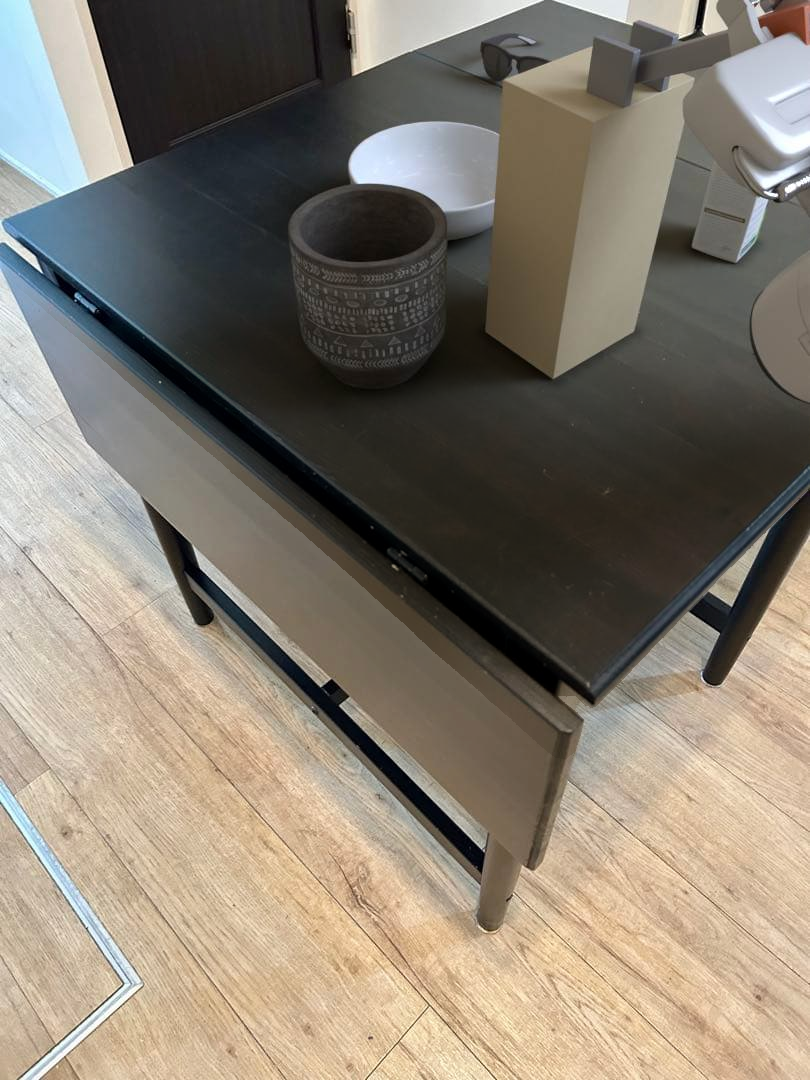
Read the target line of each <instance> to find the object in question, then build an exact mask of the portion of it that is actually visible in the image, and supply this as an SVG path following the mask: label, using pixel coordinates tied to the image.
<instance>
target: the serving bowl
mask: <svg viewBox="0 0 810 1080" xmlns="http://www.w3.org/2000/svg"><path fill="white" fill-rule="evenodd" d="M498 147H499V133H498V132H495V131H493V130H490V129H487V128H484V127H481V126H477V125H474V124H473V125H472V124H467V123H463V122H454V121H420V122H411V123H406V124H400V125H396V126H393V127H389V128H387V129H383V130H381V131H378V132H376V133H374V134H372V135H370V136H369V137H366V138H365V139H364V140H362V141H361V142H360V143H359V144H358V145H357V146H356V147H355V148H354V149H353V151H351V154H350V156H349V158H348V162H347V172H348V177H349V181H350V185H352V184H366V183H372V184H387V185H394V186H399V187H403V188H407V189H411V190H414V191H417V192H420V193H422V194H424V195H426V196H427V197H429V198H430V199H432V200H433V201H434V202H436V203H437V204H438V205H439V206H440V208H441V209H442V210H443V212H444V214H445V216H446V220H447V241H453V240H460V239H465V238H469V237H473V236H475V235H478V234H481V233H482V232H485V231H486V230H489V229H490V228H493V217H494V203H495V189H496V175H497V161H498Z"/></svg>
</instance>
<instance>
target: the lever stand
mask: <svg viewBox="0 0 810 1080" xmlns="http://www.w3.org/2000/svg"><path fill="white" fill-rule="evenodd" d="M679 38H680V34H679V33H675V32H673V31H671V30H667V29H665V28H662V27H659V26H658V25H654V24H651V23H648V22H646V21H643V20H641V19H638V20H636V21H633V22H632V26H631V32H630V38H629V43H628V44H627V43H624V42H622V41H619V40H616V39H614V38H611V37H609V36H606V35H604V34H598V35H595V36H594V37H593V41H592V45H591V46H589V47H586V48H583V49H581V50H577V51H576V52H573V53H570V54H567V55H565V56H562V57H560V58H557V59H555V60H551V61H552V62H549V63H546V64H544V65H541V66H538V67H536V68H533V69H531V70H528V71H525V72H523V73H520V74H518V73H517V74H515V75H512V76H510V77H506V78H505V79H503V80H502V92H501V107H500V120H499V133H498V134H499V147H498V161H497V175H496V189H495V203H494V217H493V226H492V233H491V244H490V245H491V247H490V259H489V263H490V264H489V273H488V274H489V275H488V276H489V277H488V287H487V301H486V302H487V303H486V316H485V317H486V318H485V330H484V332H485V333H486V334H488V335H489V336H491V337H492V338H493V339H495V340H496V341H498V342H499V343H501V344H502V345H503V346H504V347H506V348H507V349H509V350H510V351H512V352H513V353H515V354H516V355H517V356H519V357H521V358H522V359H523V360H525V361H526V362H528V363H529V364H530V365H532V366H534V367H535V368H536V369H537V370H539V371H540V372H542V373H543V374H545V375H546V376H547V377H549V378H550V379H552V380H554V379H556V378H558V377H559V376H561V375H563V374H564V373H567V372H568V371H570V370H571V369H573V368H575V367H576V366H578V365H580V364H582V363H584V362H585V361H587V360H589V359H590V358H592V357H594V356H595V355H598V354H599V353H601V352H602V351H604V350H605V349H607V348H609V347H610V346H612V345H614V344H615V343H617V342H619V341H621V340H622V339H624V338H625V337H627V336H629V335H631V334H633V333H634V332H635V331H636V330H635V329H636V326H637V321H638V317H639V313H640V309H641V305H642V300H643V297H644V292H645V288H646V284H647V279H648V275H649V272H650V267H651V263H652V258H653V255H654V251H655V246H656V243H657V238H658V233H659V230H660V226H661V222H662V217H663V213H664V208H665V204H666V201H667V196H668V192H669V188H670V184H671V179H672V176H673V171H674V168H675V163H676V158H677V154H678V150H679V146H680V142H681V138H682V134H683V130H684V126H685V120H684V118H683V105H682V104H683V99H684V97H685V96H686V95H687V93H688V92H689V91H690V90H691V89H692V87H693V86H694V85H695V84H694V83H695V77H693V76H691V75H689V74H686V73H680V74H676V75H672V76H668V77H664V78H659V79H655V80H651V81H647V82H643V83H638V84H634V83H635V78H636V73H637V67H638V62H639V57H640V55H641V54H644V53H646V52H649V51H651V50H655V49H659V48H662V47H666V46H669V45H673V44H677V43H679Z"/></svg>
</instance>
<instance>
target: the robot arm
mask: <svg viewBox="0 0 810 1080" xmlns="http://www.w3.org/2000/svg"><path fill="white" fill-rule="evenodd" d="M809 1H810V0H717V2H716V6H715V9H716V12H717V14H718V16H719V17H720V18H721V20H722V21H723V23H724V24H725V26H726V27H727V29H726V30H728V38H729V46H730V54H731V57H729V58H727V59H725V60H722V61H720V62H718V63H716V64H714V65H712V66H710V67H708V69H707V70H706V71H705V72H704V73H703V74H702V76H701V77H700V78H699V79H698V80H697V81H696V83H695V84H693V87H692V89H691V90H690V91H689V92H688V93H687V95H686V96H685V97H684V99H683V104H682V105H683V118H684V120H685V121H684V123H685V124H686V125H687V127H688V129H689V130H690V131H691V132H692V134H693V135H694V136H695V138H696V139H697V141H699V143H700V144H701V145H702V147H703V148H704V149H705V150H706V152H707V153H708V154H709V155H710V156H711V158H712V159H713V161H714V160H715V161H716V162H717V163H718V164H719V166H720V167H721V168H722V169H723V170H724V171H725V172H726V173H727V174H728V175H729V176H730V177H731V178H732V179H733V180H734V181H735V182H737V183H738V184H739V185H741V186H743V187H745V188H747V189H748V190H749V192H750V193H751V194H753V195H754V196H756V197H759V196H760V197H762V198H765V199H769V201H772V202H774V203H776V204H782V203H786V202H788V201H790V200H792V199H793V198H794V197H795V199H796V200H797V201H798V203H799V204H800V206H801V207H802V208H803V211H804V212H805V213H806V214H807V216H808V218H810V45H808V46H806V45H805V43H804V41H803V40H802V38H801V37H800V36H799V35H798V34H797V33H796V32H794V31H791V32H788V33H786V34H783V35H781V36H779V37H776V38H774V36H773V35H772V33H771V32H770V31H769V29H768V28H767V27H766V26H764V27H762V28H760V26H759V22H758V18H757V17H758V15H757V12H756V7H757V6H760V8H761V9H762V11H763V12H764V14H767V13H770V12H773V11H777V10H781V9H784V8H788V7H791V6H795V5H798V4H802V3H806V2H809ZM772 189H773V191H772V193H770V192H768V191H770V190H772ZM748 324H749V327H748V328H749V340H750V344H751V348H752V352H753V355H754V357H755V360H756V362H757V364H758V365H759V367H760V369H761V370H762V372H763V373H764V374H765V376H766V377H767V379H768V380H769V381H770V382H771V383H772V384H773V385H774V386H775V387H776V388H777V389H778V390H780V391H781V392H783V393H784V394H785V395H786V396H789V397H790V398H792V399H794V400H797V401H798V402H801V403H804V404H808V405H810V249H809V250H808V251H807V252H805V253H804V254H802V255H801V256H799V258H797V259H796V260H794V261H793V262H792V263H790V264H789V265H788V266H786V267H785V268H783V269H782V270H781V271H780V272H778V273H777V274H776V275H775V276H774V277H773V279H771V281H769V283H767V284H766V286H765V288H764V289H763V290H762V291H760V292H759V293H758V295H757V297H756V298H755V300H754V301H753V304H752V307H751V311H750V315H749V323H748Z"/></svg>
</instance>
